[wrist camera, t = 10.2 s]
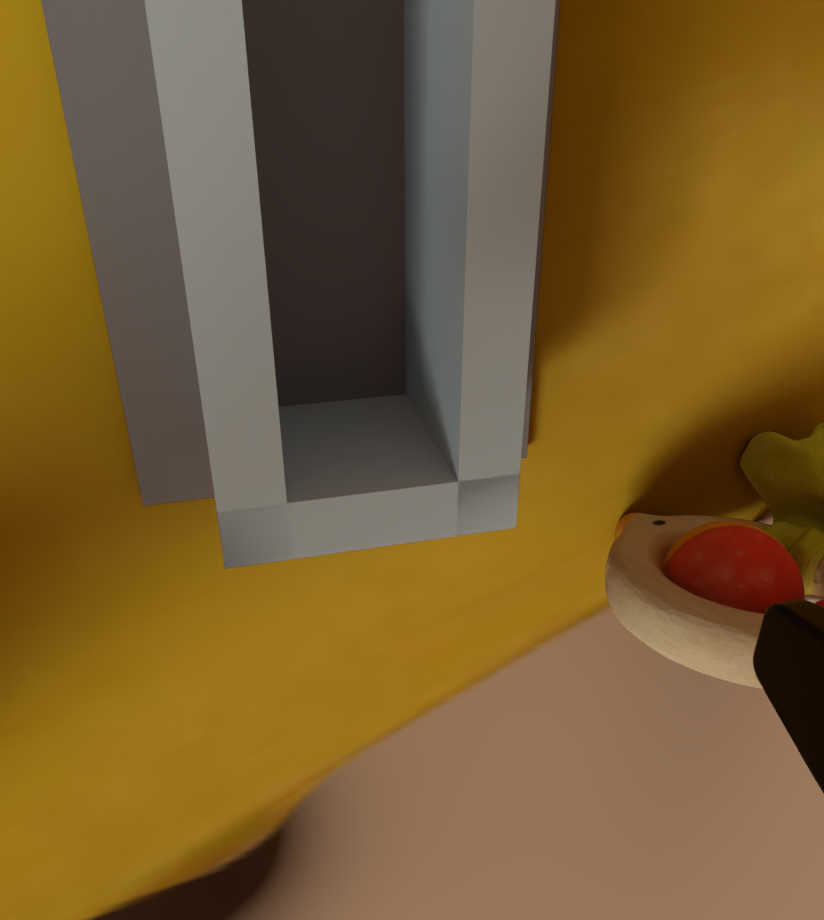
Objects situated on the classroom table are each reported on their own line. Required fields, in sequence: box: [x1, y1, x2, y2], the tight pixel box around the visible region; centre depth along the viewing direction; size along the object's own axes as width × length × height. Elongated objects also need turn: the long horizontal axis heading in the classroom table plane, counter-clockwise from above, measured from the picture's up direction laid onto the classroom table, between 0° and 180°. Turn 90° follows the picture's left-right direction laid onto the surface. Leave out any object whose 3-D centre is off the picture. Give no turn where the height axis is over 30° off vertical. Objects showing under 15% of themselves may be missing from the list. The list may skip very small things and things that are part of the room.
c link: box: [145, 0, 556, 569], centre depth 14 cm, size 13×6×4 cm, turn 0°
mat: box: [41, 0, 560, 506], centre depth 16 cm, size 16×10×1 cm, turn 0°
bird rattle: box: [605, 422, 824, 689], centre depth 20 cm, size 6×11×9 cm
